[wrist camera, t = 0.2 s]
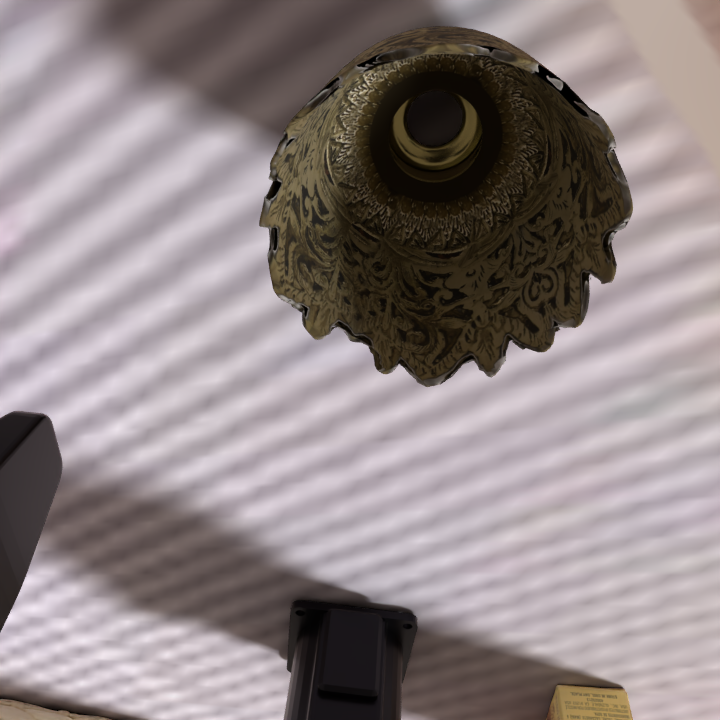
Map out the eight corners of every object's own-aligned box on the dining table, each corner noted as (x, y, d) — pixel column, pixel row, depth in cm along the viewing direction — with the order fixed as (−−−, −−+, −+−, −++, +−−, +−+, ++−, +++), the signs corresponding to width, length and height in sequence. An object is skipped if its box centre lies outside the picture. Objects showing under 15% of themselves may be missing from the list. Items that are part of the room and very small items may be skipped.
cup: (262, 140, 21) (193, 268, 15) (413, -91, 17) (406, -53, 11) (449, 272, 23) (459, 434, 17) (619, 94, 20) (713, 216, 13)
